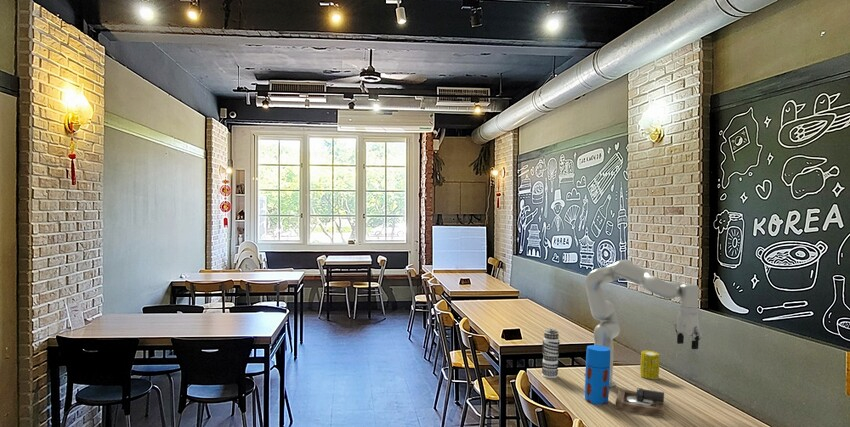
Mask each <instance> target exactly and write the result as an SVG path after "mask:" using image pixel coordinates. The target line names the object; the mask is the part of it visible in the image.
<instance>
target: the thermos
mask: <svg viewBox="0 0 850 427" xmlns="http://www.w3.org/2000/svg"><path fill="white" fill-rule="evenodd" d="M585 358H586V359H585V372H584V375H585V376H584V400H585V402H587V403H590V404H593V405H598V406H603V405H607V404H608V403H609V395H610V387H609V377H610V349H609V348H608V347H604V346H599V345H594V344H592V345H591V344H590V345H587V346H586V354H585Z"/></svg>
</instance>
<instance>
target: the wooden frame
mask: <svg viewBox="0 0 850 427" xmlns="http://www.w3.org/2000/svg"><path fill="white" fill-rule="evenodd" d="M628 396H637V391H633V390H627V389H621V388H619V389H618V391H617V395H616V399H615V406H614V408H615V410H619V411H623V412H630V413H634V414H635V413H636V414H641V415H648V416H650V417H651V416H652V417H658V418H664V412H665V409H664V408H665V406H664V404H665V402H659V401H653V400H652V401H653V402H654V405H653V406H648V405H642V404H636V403H631V402H627V397H628Z"/></svg>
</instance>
